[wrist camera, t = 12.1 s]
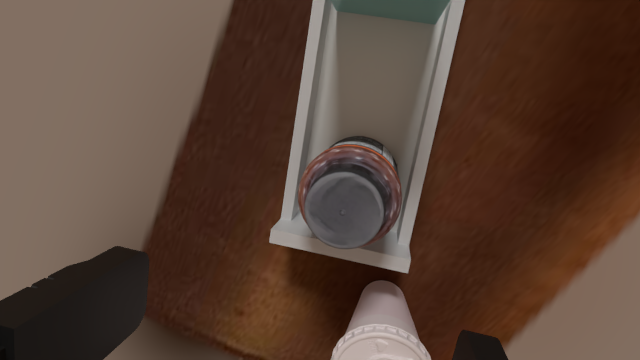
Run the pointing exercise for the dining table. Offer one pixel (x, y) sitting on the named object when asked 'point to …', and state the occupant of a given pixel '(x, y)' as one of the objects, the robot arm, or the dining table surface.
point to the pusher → (395, 9)
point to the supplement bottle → (351, 193)
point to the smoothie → (381, 328)
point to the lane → (369, 112)
